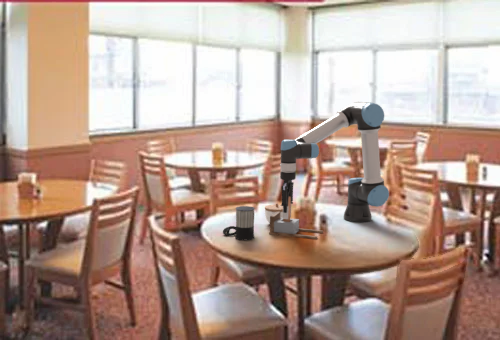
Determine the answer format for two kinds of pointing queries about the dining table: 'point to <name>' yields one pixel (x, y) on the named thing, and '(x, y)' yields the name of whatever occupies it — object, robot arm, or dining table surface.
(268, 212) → the lidded bowl
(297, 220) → the block
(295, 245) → the dining table surface
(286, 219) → the dowel
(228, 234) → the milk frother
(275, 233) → the track
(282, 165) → the robot arm
